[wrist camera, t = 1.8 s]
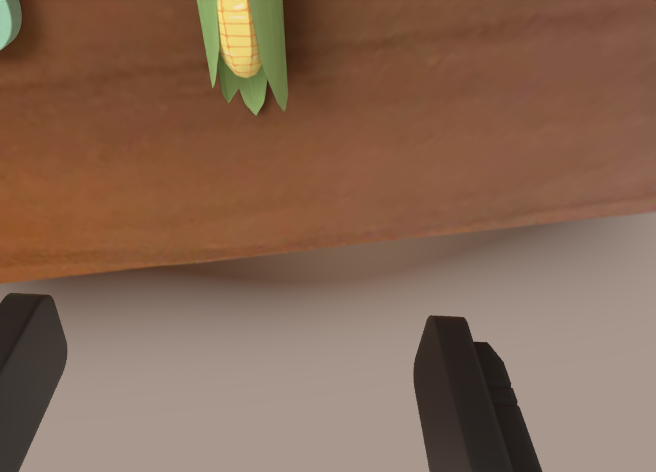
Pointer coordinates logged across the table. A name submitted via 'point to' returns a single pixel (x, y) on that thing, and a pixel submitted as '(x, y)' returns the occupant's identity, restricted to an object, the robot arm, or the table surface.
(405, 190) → the table surface
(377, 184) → the table surface
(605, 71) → the table surface
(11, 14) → the spoon
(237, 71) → the edible corn
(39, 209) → the table surface
